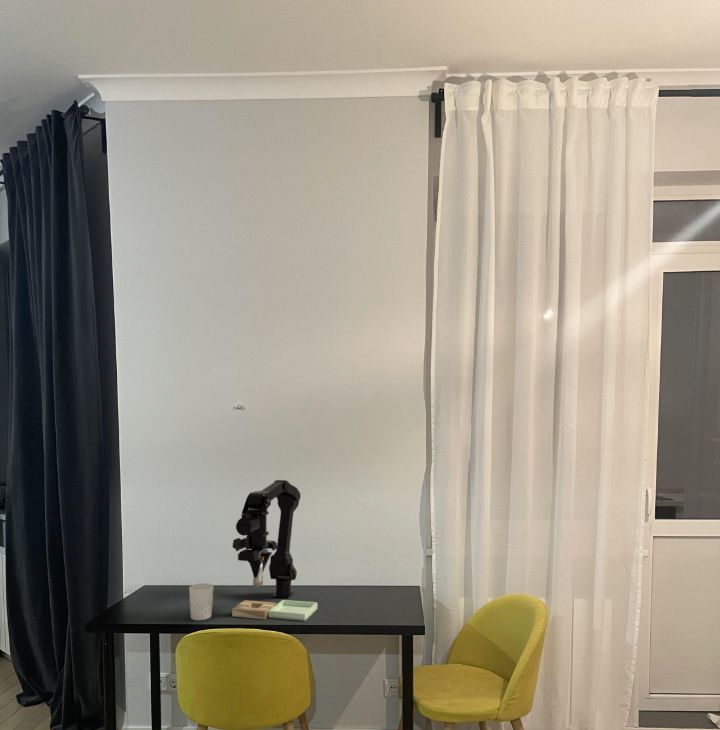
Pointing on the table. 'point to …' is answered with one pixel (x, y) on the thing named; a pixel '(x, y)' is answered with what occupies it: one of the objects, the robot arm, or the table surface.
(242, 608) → the block
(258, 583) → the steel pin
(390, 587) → the table surface
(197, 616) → the white cup
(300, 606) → the tray
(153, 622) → the table surface
